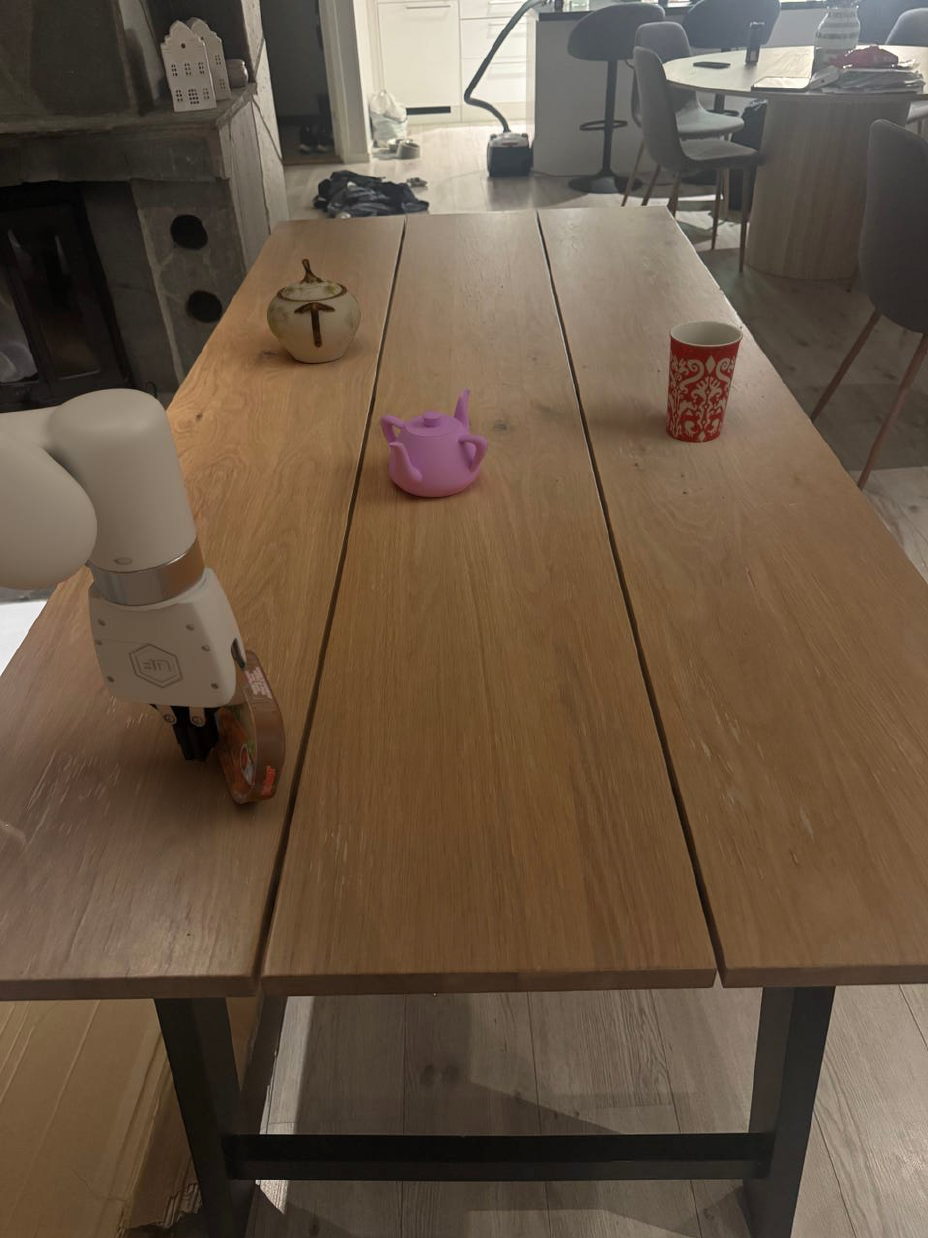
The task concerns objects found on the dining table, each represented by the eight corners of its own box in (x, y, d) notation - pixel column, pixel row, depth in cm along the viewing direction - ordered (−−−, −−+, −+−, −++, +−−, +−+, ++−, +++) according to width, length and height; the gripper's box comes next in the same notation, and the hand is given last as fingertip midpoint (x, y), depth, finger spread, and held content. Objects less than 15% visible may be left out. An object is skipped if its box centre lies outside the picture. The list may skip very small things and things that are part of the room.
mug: (737, 443, 121) (752, 342, 113) (668, 447, 121) (679, 346, 113) (711, 404, 131) (723, 309, 123) (647, 408, 131) (655, 312, 123)
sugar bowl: (273, 338, 160) (258, 247, 151) (359, 329, 161) (350, 239, 152) (274, 381, 144) (258, 282, 135) (370, 371, 146) (360, 273, 137)
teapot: (394, 510, 110) (388, 442, 105) (382, 459, 121) (375, 395, 116) (492, 498, 112) (491, 431, 106) (471, 448, 123) (469, 385, 117)
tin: (203, 708, 82) (212, 628, 78) (239, 705, 83) (249, 627, 79) (239, 827, 71) (252, 741, 67) (280, 822, 72) (295, 738, 68)
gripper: (24, 589, 64) (97, 775, 75) (230, 601, 62) (274, 790, 73) (76, 533, 70) (136, 713, 81) (265, 542, 68) (300, 725, 79)
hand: (201, 749), depth 77 cm, fingers closed
